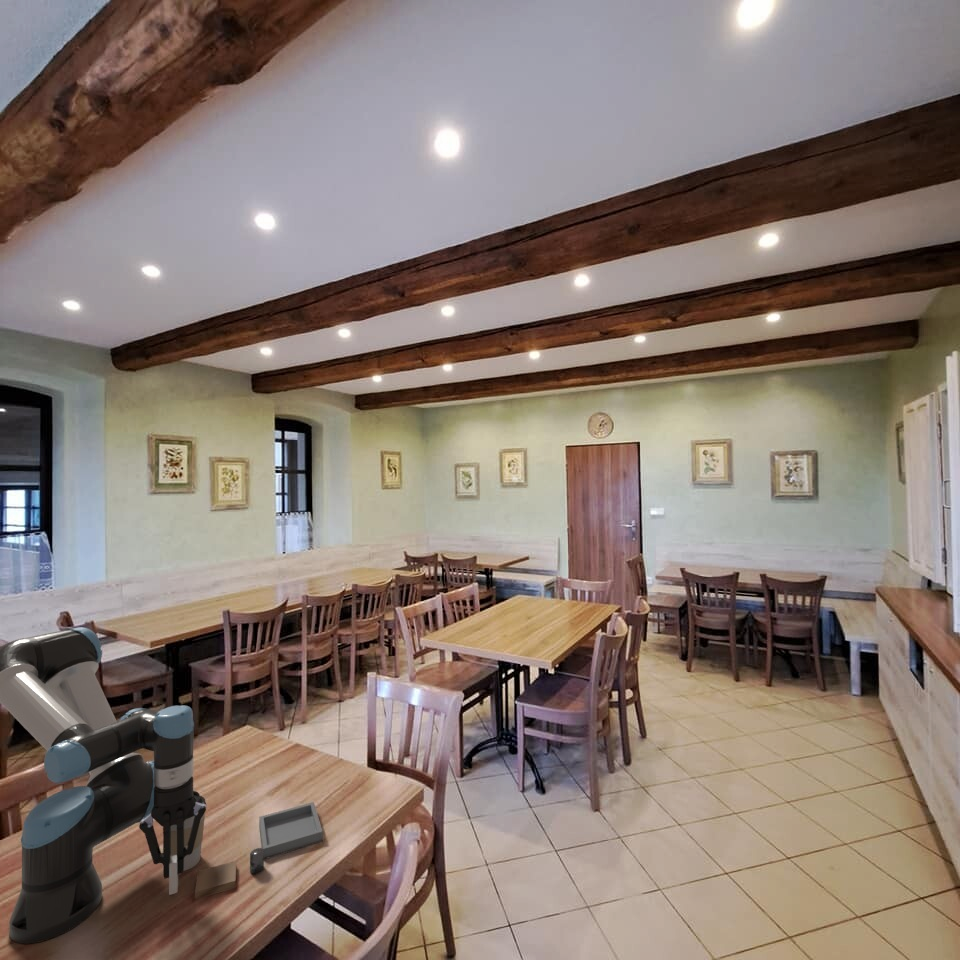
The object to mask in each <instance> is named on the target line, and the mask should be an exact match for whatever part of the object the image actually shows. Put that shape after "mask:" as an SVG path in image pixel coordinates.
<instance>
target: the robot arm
mask: <svg viewBox="0 0 960 960" xmlns="http://www.w3.org/2000/svg"><path fill="white" fill-rule="evenodd" d="M102 657H103V650H102V644H101V640H100V639H99V637H98V635H97V634H96V633H95V631H93V630H91V629H90V628H87V627H73V628H69V627H68V628H64V629H61V630H59V631H54V632H48V633H44V634H40V635H39V634H37V635H32V636H29V637H25V638H24V637H23V638H18V639H15V640H11V641H9V642H7V643H5V644H3V645H2V646H0V705H2V706H3V707H4V709H6V710H7V711H8V712H9V714H10V715H12V716H13V718H14V719H15V720H16V721H17V722H19V724H20V725H21V726H22V727H23V728H24V729H25V730H26V731H27V732H28V733H29V734H30V735H31V736H32V737H33V738H34V739H35V740H36V742H38V743H39V744H40V746H41V747H43V748H44V749H45V751H46V753H45V755H44V759H43V767H44V771H45V773H46V774H47V775H46V776H47V778H48V780H49V781H51V782H52V783H55V784H63V783H64V782H67V781H70V780H73V779H76V778H79V777H81V776H83V775H85V774H87V773H89V779H88V780H87V783H86V784H85V785H79V786H73V787H71V788H69V789H67V788H66V789H63V790H60V791H58V792H56V793H54V794H52V795H51V794H50V796H47V797H46V798H44V799H43V800H42V801H40V802H39V803H38V804H36V805H35V806H34V807H33V808H32V809H31V810H30V811H29V812H28V814H27V815H26V817H25V818H24V821H23V826H22V833H21V834H22V835H21V838H20V843H21V889H20V892H19V895H18V898H17V900H16V902H15V906H14V908H13V911H12V913H11V916H10V920H9V926H8V927H9V928H8V929H9V933H8V934H9V935H8V936H9V938H10V939H11V940H12V941H13V942H15V943H18V944H34V943H40V942H43V941H44V942H45V941H48V940H50V939H53V938H56V937H58V936H61V935H62V934H65V933H67V932H68V931H70V930H72V929H74V928H75V927H76V926H78V925H80V924H81V923H83V922H84V921H85V920H86V919H88V918H89V917H90V916H91V915H92V914H93V913H94V912H95V911H96V910H97V908H98V907H99V905H100V903H101V902H102V898H103V885H102V881H101V879H100V876H99V874H98V871H97V870H96V868H95V865H94V864H93V862H94V861H93V855H94V854H93V850H94V848H95V847H96V846H99V845H100V844H101V843H103V842H105V841H107V840H109V839H111V838H112V837H115V835H118V834H119V833H121V832H123V831H125V830H127V829H128V828H130V827H132V826H134V825H136V824H138V823H139V826H138V827H139V829H140V831H142V832H143V834H144V835H145V836H144V837H145V839H146V842H147V846H148V850H149V852H150V856H151V859H152V863H153V864H154V865H158V864H162V865H163V870H162V871H163V872H162V873H163V874H162V876H163V878H164V880H165V879H168V895H169V896H170V895H174V894H176V893H178V889H179V875H180V874H181V875H182V874H183V873H184V871H183V870H184V857H185V856H186V855H190V854H191V853H192V852H193V848H194V844H195V840H196V836H197V832H198V828H199V824H200V820H201V818H202V816H203V815H204V813H205V814H206V811H207V803H205V802H206V801H205V802H203V803H198V802H196V799H195V797H194V795H193V791H194V777H193V775H194V735H195V734H194V729H195V728H194V727H195V721H194V712H193V708H191V707H190V706H188V705H179V704H178V705H171V706H168V707H165V708H163V709H160V710H159V711H157V710H154V709H151V708H143V707H137V708H133V709H130V710H128V711H127V712H126V713H124V714H123V716H121V717H120V719H119V720H118V721H117V719H116V717H115V715H114V712H113V711H112V709H111V705H110V703H109V702H108V700H107V699H108V698H107V697H106V695H105V694H104V691H103V689H102V686H101V684H100V682H99V680H98V678H97V676H96V673H97V671H98V669H99V667H100V666H99V664H100V662H101V660H102V659H103V658H102ZM141 749H144V750H147V751H151V752H153V760H148V761H145V760H144V757H143V756H142V754H141V753H139V752H138V753H136V751H140V750H141ZM193 809H194V814H195V817H194V821H193V825H192V829H191V833H190V837H189V841H188V845H187V846H186V847H184V821H185V820H186V818H187V817H188V815H189V814H190V812H191V811H192V810H193ZM154 820H155V822H157V824H159V825H160V826H161V827H162V834H163V835H162V841H163V842H162V843H163V845H162V848H163V849H162V850H163V851H161V848H160V845H159V841H158V837H157V835H156V831H155V828H154ZM172 825H177V855H175V856H171V857H170V855H171V826H172Z"/></svg>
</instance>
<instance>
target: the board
mask: <svg viewBox="0 0 960 960" xmlns="http://www.w3.org/2000/svg"><path fill="white" fill-rule="evenodd" d="M236 877H237V860H234V861H230V862H226V863H222V864H220V865H216V866H211V867H209V868H204V869H201V870H198V871H197V876H196V884H195V890H194V900H198V899H202V898H204V897H209V896H212V895H215V894H219V893H222V892H226V891H230V890H233V889H236V881H237V878H236Z"/></svg>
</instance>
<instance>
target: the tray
mask: <svg viewBox="0 0 960 960" xmlns="http://www.w3.org/2000/svg"><path fill="white" fill-rule="evenodd" d="M258 818H259V819H258V820H259V821H258V822H259V823H258V827H259V835H260V836H259V837H260V844H261V848H262V849H264V860H266V859H270V858H273V857H276V856H279V855H283V854H286V853H289V852H291V851H296V850H299V849H302V848H305V847H308V846H312V845H315V844H318V843H322V842H323V839H324V838H323V836H324V835H323V829H322V826H321V822H320V819H319V814H318V812H317V809H316V805H315V802H314V801H312V802H309V803H305V804H302V805H299V806H293V807H291V808H287V809H284V810H279V811H277V812H272V813H268V814H265V815H264V814H263V815H260V816H259V817H258Z"/></svg>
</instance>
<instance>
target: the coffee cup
mask: <svg viewBox="0 0 960 960" xmlns="http://www.w3.org/2000/svg"><path fill="white" fill-rule="evenodd" d="M193 795H194V797H195V799H196V802H198V803H203V802H205V803H206V798H205V797H203V796H202V795H201V794H199V792H198V791H196V790H193ZM206 804H207V803H206ZM205 814H206V812H205V813H204V815H203V816H202V818H201V820H200V824H199V828H198V832H197V836H196V840H195V844H194V848H193V852H192V853H191V854H190V855H186V856H185V857H184V870H183V872H185V871H188V870H190V869H192V868H193V867H195V866H196V865H198V863H199V862H200V861H201V856H202V855H201V854H202V843H203V839H204V830H205V829H204V827H205V817H206V815H205ZM194 817H195V814H194V809H193V810H192V811H191V812H190V814H189V815H188V817H187V818H186V820H185V821H184V847H186V846H187V845H188V841H189V837H190V833H191V829H192V825H193V821H194ZM175 855H177V825H172V826H171V855H170V857H171V856H175Z"/></svg>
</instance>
